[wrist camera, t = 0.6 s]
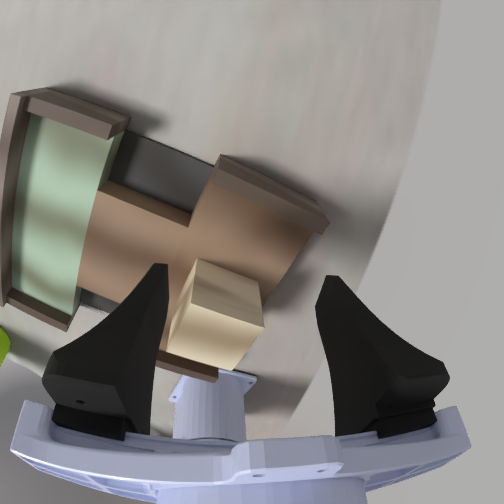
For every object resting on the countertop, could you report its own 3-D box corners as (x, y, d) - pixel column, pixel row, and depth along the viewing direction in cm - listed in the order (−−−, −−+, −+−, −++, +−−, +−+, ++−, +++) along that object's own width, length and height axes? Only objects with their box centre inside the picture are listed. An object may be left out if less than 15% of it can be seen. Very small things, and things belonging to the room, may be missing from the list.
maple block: (230, 324, 26) (231, 371, 22) (174, 305, 25) (166, 351, 20) (258, 281, 24) (264, 327, 20) (197, 258, 22) (190, 303, 18)
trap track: (215, 354, 32) (214, 389, 28) (16, 275, 25) (-5, 302, 21) (315, 200, 23) (332, 227, 20) (44, 87, 17) (10, 93, 13)
